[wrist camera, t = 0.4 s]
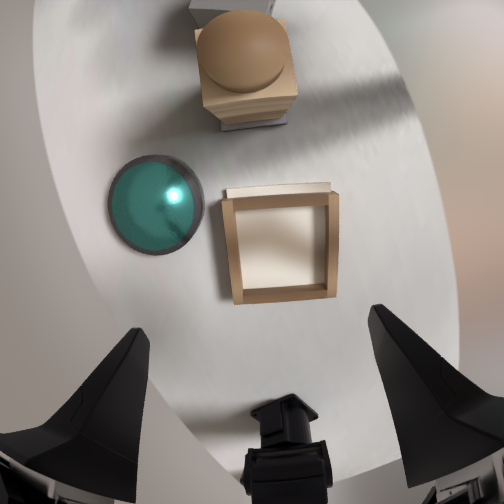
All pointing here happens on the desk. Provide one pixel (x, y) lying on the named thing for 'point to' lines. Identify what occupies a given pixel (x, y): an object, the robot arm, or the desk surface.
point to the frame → (282, 242)
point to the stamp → (246, 69)
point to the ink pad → (156, 204)
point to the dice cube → (225, 8)
